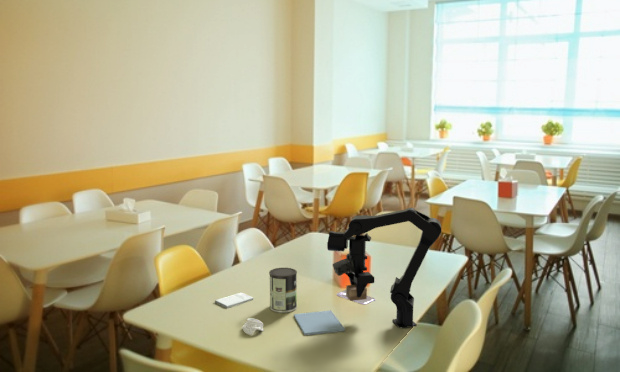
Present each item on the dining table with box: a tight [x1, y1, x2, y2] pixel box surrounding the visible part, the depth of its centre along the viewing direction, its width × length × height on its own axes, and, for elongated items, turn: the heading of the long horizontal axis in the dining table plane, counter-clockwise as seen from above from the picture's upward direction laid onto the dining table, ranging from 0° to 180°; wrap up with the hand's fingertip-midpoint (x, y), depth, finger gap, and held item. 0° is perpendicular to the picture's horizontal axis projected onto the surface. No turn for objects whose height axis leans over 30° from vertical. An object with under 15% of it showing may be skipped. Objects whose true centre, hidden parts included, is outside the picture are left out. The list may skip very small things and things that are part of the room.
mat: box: [293, 310, 346, 336], centre depth 182 cm, size 16×14×1 cm
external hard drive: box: [214, 291, 254, 309], centre depth 202 cm, size 2×8×12 cm
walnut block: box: [345, 284, 368, 302], centre depth 184 cm, size 4×6×4 cm
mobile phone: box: [336, 289, 376, 305], centre depth 206 cm, size 8×1×15 cm
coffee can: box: [268, 267, 298, 314], centre depth 195 cm, size 10×10×14 cm
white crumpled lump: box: [242, 317, 264, 336], centre depth 176 cm, size 8×7×5 cm
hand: (356, 294), depth 184 cm, fingers closed on walnut block, 4 cm apart
